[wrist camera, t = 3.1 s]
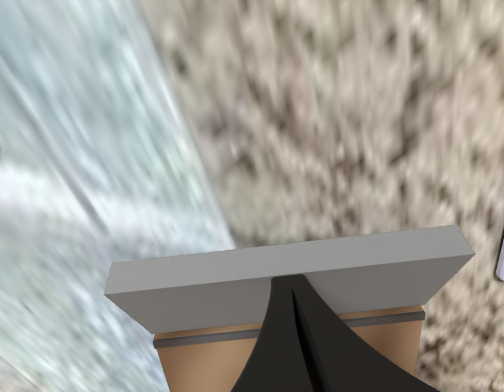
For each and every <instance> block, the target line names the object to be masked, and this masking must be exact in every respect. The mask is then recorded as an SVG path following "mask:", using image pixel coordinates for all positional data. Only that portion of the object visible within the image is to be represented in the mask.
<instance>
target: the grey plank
mask: <svg viewBox="0 0 504 392" xmlns="http://www.w3.org/2000/svg"><path fill="white" fill-rule="evenodd" d="M475 254H476V253H475V252H474V250H473V249H472V247H471V245H470V244H469V242H468V241H467V239H466V238H465V236H464V235H463V233H462V232H461V230H460V229H459V227H458V225H449V226H440V227H431V228H422V229H413V230H405V231H396V232H387V233H378V234H369V235H360V236H351V237H342V238H333V239H324V240H315V241H306V242H297V243H288V244H279V245H270V246H261V247H252V248H243V249H234V250H225V251H216V252H207V253H198V254H189V255H180V256H172V257H163V258H154V259H145V260H136V261H127V262H118V263H112V265H111V268H110V272H109V276H108V280H107V284H106V288H105V291H104V295H105V296H106V297H107V298H108V299H110V300H111V301H112V302H113V303H115V304H116V305H117V306H118V307H119V308H121V309H122V310H123V311H124V312H126V313H127V314H128V315H129V316H130V317H132V318H133V319H134V320H135V321H137V322H138V323H139V324H140V325H141V326H143V327H144V328H145V329H146V330H148V331H149V332H150V333H151V334H156V333H166V332H175V331H184V330H194V329H203V328H212V327H221V326H231V325H240V324H249V323H259V322H263V321H264V318H265V315H266V311H267V307H268V303H269V298H270V292H271V279H272V278H273V277H278V276H287V275H296V274H303V275H305V276H306V278H307V279H308V281H309V282H310V284H311V285H312V286H313V288H314V289H315V290H316V292H317V293H318V294H319V295H320V297H321V298H322V299H323V300H324V301H325V302H326V304H327V305H328V306H329V307H330V308H331V309H332V310H333V311H334V312H335V314H342V313H352V312H361V311H370V310H380V309H389V308H398V307H408V306H417V305H424V304H426V303H427V302H428V301H429V300H430V299H431V298H432V297H433V296H434V295H435V294H436V293H437V292H438V291H439V290H440V289H441V288H442V287H443V286H444V285H445V284H446V283H447V282H448V281H449V280H450V279H451V278H452V277H453V276H454V275H455V274H456V273H457V272H458V271H459V270H460V269H461V268H462V267H463V266H464V265H465V264H466V263H467V262H468V261H469V260H470V259H471V258H472V257H473V256H474V255H475Z"/></svg>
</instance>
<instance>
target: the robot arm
mask: <svg viewBox="0 0 504 392" xmlns="http://www.w3.org/2000/svg"><path fill="white" fill-rule="evenodd" d="M496 275H497V277H498V278H500V279H501V280H503V281H504V240H503V245H502V249H501V253H500V257H499V262H498V266H497V270H496ZM230 392H440V391H438V390H436V389H435V388H433V387H431V386H429V385H427V384H426V383H424V382H422V381H421V380H419V379H417V378H416V377H414V376H413V375H411V374H409V373H408V372H406V371H405V370H403V369H402V368H400V367H399V366H397V365H396V364H394V363H393V362H392V361H390V360H389V359H387V358H386V357H385V356H383V355H382V354H380V353H379V352H378V351H377V350H375V349H374V348H373V347H372V346H370V345H369V344H368V343H367V342H365V341H364V340H363V339H362V338H361V337H360V336H358V335H357V334H356V333H355V332H354V331H353V330H352V329H351V328H350V327H348V326H347V325H346V324H345V323H344V322H343V321H342V320H341V319H340V318H339V317H338V316H337V315H336V314H335V312H334V311H333V310H332V309H331V308H330V307H329V306H328V305H327V304H326V302H325V301H324V300H323V299H322V298H321V297H320V295H319V294H318V293H317V292H316V290H315V289H314V288H313V286H312V285H311V284H310V282H309V281H308V279H307V278H306V276H305V275H303V274H296V275H287V276H278V277H273V278H272V279H271V292H270V298H269V303H268V307H267V311H266V315H265V318H264V321H263V324H262V327H261V330H260V333H259V336H258V339H257V341H256V344H255V346H254V348H253V350H252V353H251V355H250V357H249V359H248V361H247V363H246V365H245V367H244V369H243V371H242V373H241V375H240V376H239V378H238V380H237V381H236V383H235V385H234V386H233V388H232V390H231V391H230Z"/></svg>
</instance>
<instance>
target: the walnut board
mask: <svg viewBox="0 0 504 392" xmlns="http://www.w3.org/2000/svg"><path fill="white" fill-rule="evenodd" d="M336 315H337V316H338V317H339V318H340V319H341V320H342V321H343V322H344V323H345V324H346V325H347V326H348V327H350V328H351V329H352V330H353V331H354V332H355V333H356V334H357V335H358V336H360V337H361V338H362V339H363V340H364V341H365V342H367V343H368V344H369V345H370V346H372V347H373V348H374V349H375V350H377V351H378V352H379V353H380V354H382V355H383V356H385V357H386V358H387V359H389V360H390V361H392V362H393V363H394V364H396V365H397V366H399V367H400V368H402V369H403V370H405V371H406V372H408V373H409V374H411V375H413V376H414V377H415V370H416V363H417V355H418V348H419V340H420V333H421V326H422V320H425V312H424V310H423V309H422V307H421V306H420V305H417V306H408V307H398V308H389V309H380V310H370V311H361V312H352V313H342V314H336ZM262 324H263V322H259V323H249V324H240V325H231V326H221V327H212V328H203V329H194V330H184V331H175V332H166V333H156V334H155V336H154V340H153V345H154V348H155V349H157V352H158V355H159V358H160V361H161V364H162V368H163V371H164V374H165V377H166V380H167V383H168V387H169V390H170V392H230V391H231V390H232V388H233V386H234V385H235V383H236V381H237V380H238V378H239V376H240V375H241V373H242V371H243V369H244V367H245V365H246V363H247V361H248V359H249V357H250V355H251V353H252V350H253V348H254V346H255V344H256V341H257V339H258V336H259V333H260V330H261V327H262Z"/></svg>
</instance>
